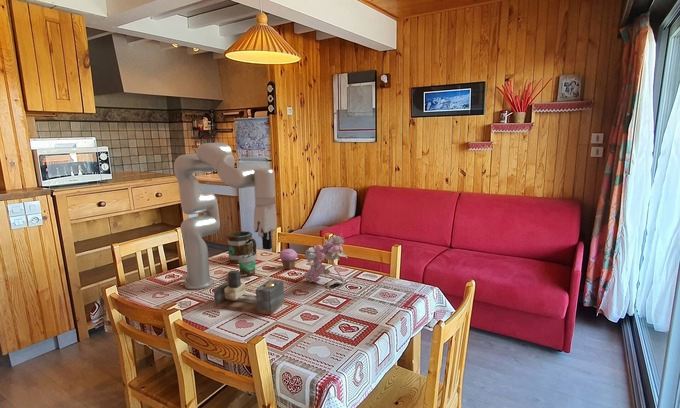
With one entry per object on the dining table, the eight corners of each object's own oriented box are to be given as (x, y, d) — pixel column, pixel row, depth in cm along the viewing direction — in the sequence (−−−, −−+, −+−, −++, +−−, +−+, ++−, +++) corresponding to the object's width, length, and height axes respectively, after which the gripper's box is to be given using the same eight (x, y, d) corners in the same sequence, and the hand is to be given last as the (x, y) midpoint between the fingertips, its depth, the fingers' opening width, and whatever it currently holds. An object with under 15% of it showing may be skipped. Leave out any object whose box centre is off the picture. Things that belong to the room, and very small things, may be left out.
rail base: (215, 307, 153) (213, 284, 151) (231, 296, 163) (229, 274, 161) (271, 314, 145) (270, 291, 143) (284, 302, 155) (283, 280, 154)
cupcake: (291, 271, 192) (290, 252, 190) (277, 269, 195) (276, 250, 194) (300, 266, 199) (299, 247, 198) (286, 264, 203) (285, 245, 201)
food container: (251, 279, 182) (249, 259, 180) (239, 278, 183) (237, 258, 182) (261, 270, 194) (260, 251, 192) (250, 270, 195) (249, 251, 194)
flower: (339, 267, 191) (317, 226, 184) (366, 276, 172) (342, 230, 165) (309, 293, 183) (283, 250, 175) (333, 305, 164) (306, 258, 156)
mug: (223, 261, 210) (221, 235, 207) (243, 255, 220) (241, 230, 218) (246, 268, 198) (244, 240, 195) (266, 261, 208) (264, 234, 206)
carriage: (225, 298, 153) (223, 274, 151) (235, 291, 159) (233, 268, 158) (235, 299, 151) (234, 275, 150) (245, 292, 158) (244, 269, 156)
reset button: (264, 298, 149) (263, 285, 148) (268, 295, 152) (268, 282, 151) (272, 299, 148) (271, 286, 147) (276, 296, 151) (276, 282, 150)
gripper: (266, 197, 152) (268, 242, 155) (245, 204, 138) (248, 253, 141) (283, 198, 150) (285, 244, 153) (264, 205, 136) (266, 255, 139)
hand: (267, 248), depth 147 cm, fingers closed
